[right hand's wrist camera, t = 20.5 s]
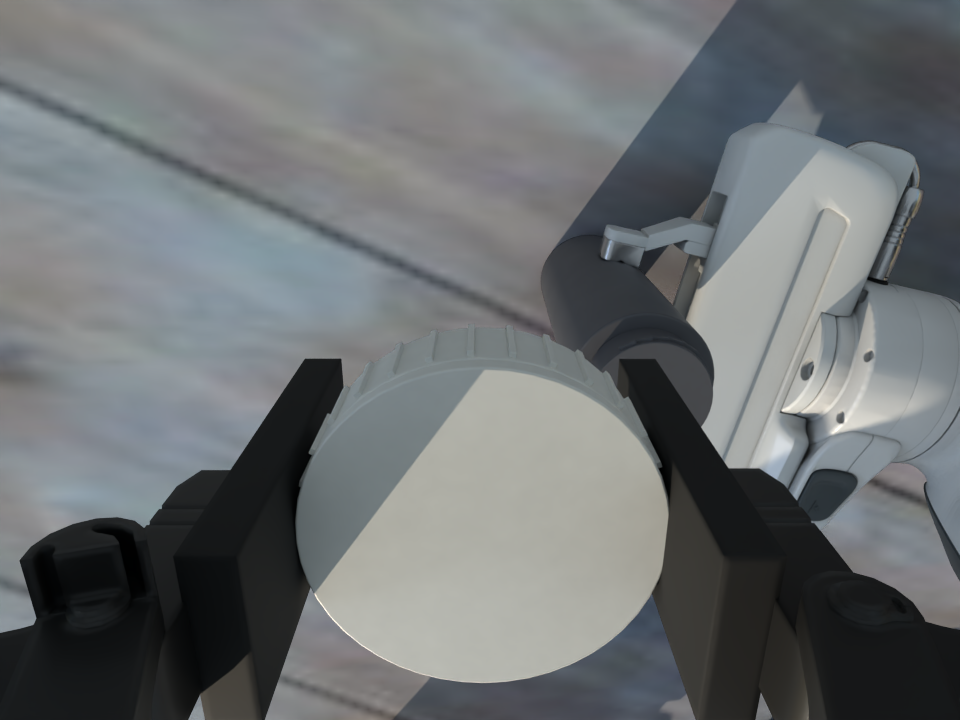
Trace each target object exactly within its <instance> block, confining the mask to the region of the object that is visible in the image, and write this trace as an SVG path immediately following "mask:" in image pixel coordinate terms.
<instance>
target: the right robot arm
mask: <svg viewBox="0 0 960 720" xmlns="http://www.w3.org/2000/svg"><path fill="white" fill-rule="evenodd" d="M342 389H343V375H342V363H341V359H305V360H304V361H303V363H302V364H301V366H300V367H299V369H298V370H297V372H296V373H295V375H294V376H293V378H292V379H291V381H290V382H289V384H288V385H287V387H286V388H285V390H284V391H283V393H282V394H281V396H280V397H279V399H278V400H277V402H276V403H275V405H274V406H273V407H272V409H271V410H270V412H269V413H268V415H267V416H266V418H265V419H264V421H263V422H262V424H261V425H260V427H259V428H258V430H257V431H256V433H255V434H254V436H253V437H252V439H251V440H250V442H249V443H248V445H247V446H246V448H245V449H244V451H243V452H242V454H241V455H240V457H239V458H238V460H237V461H236V463H235V464H234V466H233V467H232V469H231V470H201V471H200V472H198V473H197V474H195V475H194V476H192V477H191V478H189V479H188V480H186V481H185V482H183V483H181V484H180V485H178V486H177V487H176V488H175V489H174V491H173V492H172V493H171V495H170V496H169V497H168V498H167V500H166V501H165V502H164V504H163V505H162V509H159V510H158V511H157V513H156V514H155V515H154V516H153V518H152V519H151V520H150V525H146V527H145V528H143V527H142V526H141V525H139V524H138V523H137V522H135V521H133V520H128V519H123V518H118V517H116V518H98V519H93V520H88V521H84V522H80V523H76V524H72V525H70V526H68V527H65V528H63V529H61V530H58V531H56V532H53V533H51V534H49V535H48V536H46V537H45V538H43V539H42V540H40V541H39V542H37V543H36V544H34V545H33V546H31V547H30V549H29V550H28V551H27V552H26V553H25V555H24V556H23V557H22V558H21V559H20V564H21V567H22V571H23V574H24V577H25V581H26V584H27V587H28V591H29V594H30V598H31V601H32V604H33V608H34V611H35V614H36V618H37V619H36V621H35V623H34V625H32V626H28V627H25V628H21V629H17V630H12V631H7V632H3V633H0V720H188V719H189V717H190V715H191V712H192V710H193V708H194V706H195V704H196V702H197V700H198V697H199V695H200V696H201V701H202V706H203V711H204V716H205V720H265V717H266V714H267V711H268V709H269V706H270V703H271V700H272V697H273V694H274V691H275V688H276V685H277V682H278V680H279V677H280V674H281V671H282V668H283V665H284V662H285V659H286V656H287V654H288V651H289V648H290V645H291V642H292V639H293V636H294V633H295V630H296V628H297V625H298V622H299V619H300V616H301V613H302V610H303V607H304V604H305V602H306V599H307V596H308V593H309V590H310V585H309V583H308V581H307V578H306V576H305V573H304V570H303V568H302V565H301V562H300V557H299V553H298V548H297V543H296V529H295V517H296V507H297V499H298V495H299V491H300V488H301V487H299V482H300V479H301V477H302V475H303V473H304V471H305V469H306V466H307V464H308V462H309V460H310V458H311V456H312V455H311V454H309V451H310V449H311V447H312V445H313V443H314V440H315V438H316V436H317V434H318V432H319V430H320V428H321V426H322V424H323V422H324V420H325V418H326V416H327V414H331V413H332V410H333V408H334V406H335V404H336V402H337V400H338V398H339V396H340V393H341V391H342ZM617 389H618V391H619V392H620V394H621V395H622V397H623V398H624V399H625V398H626V397H629V399H630V400H631V402H632V404H633V406H634V408H635V410H636V412H637V414H638V416H639V418H640V420H641V422H642V424H643V426H644V428H645V430H646V432H647V435H648V437H649V439H650V441H651V443H652V445H653V447H654V449H655V451H656V453H657V455H658V457H659V459H660V461H661V464H662V467H661V468H658V469H659V471H660V473H661V475H662V478H663V481H664V485H665V488H666V491H667V495H668V500H669V515H668V524H667V533H666V541H665V550H664V558H663V566H662V572H661V575H660V578H659V580H658V582H657V584H656V586H655V588H654V590H653V592H652V595H653V597H654V600H655V603H656V606H657V609H658V612H659V615H660V618H661V621H662V623H663V626H664V629H665V632H666V635H667V638H668V641H669V644H670V647H671V649H672V652H673V655H674V658H675V661H676V664H677V667H678V670H679V673H680V676H681V678H682V681H683V684H684V687H685V690H686V693H687V696H688V699H689V702H690V704H691V707H692V710H693V713H694V716H695V719H696V720H755V718H756V713H757V708H758V703H759V698H760V693H762V695H763V697H764V700H765V702H766V704H767V706H768V708H769V710H770V712H771V714H772V716H773V719H774V720H960V630H957V629H952V628H948V627H943V626H939V625H935V624H932V623H928V622H925V620H924V617H923V616H922V615H921V613H920V612H919V610H918V609H917V608H916V606H915V605H914V603H913V602H912V601H910V600H909V599H908V598H906V597H905V596H904V595H903V594H901V593H900V592H899V591H897V590H896V589H895V588H893V587H891V586H889V585H886V584H884V583H882V582H880V581H878V580H876V579H874V578H871V577H867V576H864V575H860V574H856V573H853V572H852V570H851V569H850V568H849V567H848V565H847V564H846V563H845V561H844V560H843V559H842V558H841V556H840V555H839V554H838V552H837V551H836V550H835V549H834V547H833V546H832V545H831V544H830V542H829V541H828V540H827V538H826V537H825V536H824V535H823V533H822V532H821V531H820V530H819V528H818V527H817V526H816V524H815V523H811V518H810V517H809V516H808V514H807V513H806V512H805V510H804V509H803V508H802V507H799V503H798V502H797V500H796V499H795V498H794V496H793V495H792V494H791V493H790V491H789V490H788V489H787V487H786V486H785V485H784V484H783V483H781V482H780V481H778V480H777V479H775V478H773V477H772V476H770V475H769V474H767V473H766V472H764V471H763V470H761V469H760V468H728V467H727V465H726V464H725V462H724V461H723V459H722V458H721V456H720V455H719V453H718V452H717V450H716V449H715V447H714V446H713V444H712V443H711V441H710V440H709V438H708V437H707V435H706V434H705V432H704V431H703V429H702V428H701V426H700V425H699V423H698V422H697V420H696V419H695V417H694V416H693V414H692V413H691V411H690V410H689V408H688V407H687V405H686V404H685V402H684V401H683V399H682V398H681V396H680V395H679V393H678V392H677V390H676V389H675V387H674V386H673V384H672V383H671V381H670V380H669V378H668V377H667V375H666V374H665V372H664V371H663V369H662V368H661V366H660V365H659V363H658V362H657V360H656V359H619V368H618V381H617Z"/></svg>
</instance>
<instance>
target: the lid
mask: <svg viewBox="0 0 960 720" xmlns="http://www.w3.org/2000/svg"><path fill="white" fill-rule="evenodd" d="M309 454H311V455H312V456H311V458H310V460H309V462H308V464H307V466H306V469H305V471H304V473H303V475H302V477H301V479H300V482H299V487H301V488H300V491H299V495H298V499H297V507H296V517H295V529H296V543H297V548H298V553H299V557H300V562H301V565H302V568H303V570H304V573H305V576H306V578H307V581H308V583H309V585H310V587H311V589H312V590H313V592H314V594H315V596H316V598H317V600H318V601H319V602H320V604H321V605H322V606H323V608H324V609H325V611H326V612H327V613H328V615H329V616H330V617H331V618H332V619H333V620H334V621H335V622H336V623H337V624H338V626H339V627H340V628H341V629H342V630H343V631H344V632H345V633H347V634H348V635H349V636H350V637H352V638H353V639H354V640H355V641H356V642H358V643H359V644H360V645H362V646H363V647H365V648H366V649H368V650H369V651H371V652H373V653H374V654H376V655H377V656H379V657H381V658H383V659H385V660H387V661H389V662H391V663H393V664H395V665H397V666H400V667H402V668H405V669H408V670H411V671H413V672H416V673H419V674H423V675H427V676H431V677H435V678H439V679H445V680H452V681H459V682H475V683H491V682H507V681H514V680H520V679H526V678H531V677H535V676H538V675H542V674H546V673H550V672H552V671H555V670H558V669H560V668H563V667H566V666H568V665H571V664H573V663H575V662H577V661H578V660H580V659H582V658H584V657H586V656H588V655H590V654H592V653H593V652H595V651H596V650H598V649H599V648H601V647H602V646H604V645H605V644H607V643H608V642H609V641H610V640H612V639H613V638H614V637H615V636H616V635H618V634H619V633H620V632H621V631H622V630H624V628H625V627H626V626H627V625H628V624H629V623H630V622H631V621H632V620H633V619H634V618H635V617H636V615H637V614H638V613H639V612H640V610H641V609H642V607H643V606H644V605H645V603H646V602H647V600H648V599H649V598H650V596H651V594H652V592H653V590H654V588H655V586H656V584H657V582H658V580H659V578H660V575H661V572H662V566H663V558H664V550H665V541H666V533H667V524H668V515H669V500H668V495H667V491H666V488H665V485H664V481H663V478H662V475H661V473H660V471H659V469H658V468H661V467H662V464H661V461H660V459H659V457H658V455H657V453H656V451H655V449H654V447H653V445H652V443H651V441H650V439H649V437H648V435H647V432H646V430H645V428H644V426H643V424H642V422H641V420H640V418H639V416H638V414H637V412H636V410H635V408H634V406H633V404H632V402H631V400H630V399H629V397H626V398H625V399H624V398H623V397H622V395H621V394H620V392H619V391H618V389H617V388H616V386H615V384H614V382H613V380H612V378H611V376H610V374H609V373H608V372H607V371H605V372H604V373H602V372H601V371H599V370H598V369H597V368H596V367H595V366H593V365H592V364H591V363H590V362H589V361H588V360H586V359H585V358H584V355H583V353H582V352H581V351H580V350H578V349H577V350H576V352H573V351H572V350H570V349H568V348H566V347H564V346H562V345H560V344H558V343H555V342H553V341H551V339H550V336H549V335H546V334H543V336H542V337H540V336H536V335H533V334H530V333H527V332H521V331H516V330H513V326H509V325H507V326H506V329H505V328H486V327H477V328H475V324H468V328H463V329H455V330H450V331H445V332H440V333H438V331H437V329H436V330H432V331H431V333H430V335H429V336H426V337H423V338H420V339H417V340H414V341H412V342H410V343H408V344H406V345H403V343H402V342H400V343H398V344H396V347H395V350H393V351H392V352H390V353H389V354H387V355H386V356H384V357H383V358H381V359H380V360H378V361H377V362H375V363H374V364H373V363H372V362H371V361H370V362H369V363H368V364H366V366H365V369H364V371H363V373H362V375H360V376H359V377H358V379H357V380H356V381H355V382H354V383H353V384H352V386H351V387H350V388H349V387H348V386H345V387H344V388H343V389H342V391H341V393H340V396H339V398H338V400H337V402H336V404H335V406H334V408H333V410H332V413H331V414H327V416H326V418H325V420H324V422H323V424H322V426H321V428H320V430H319V432H318V434H317V436H316V438H315V440H314V443H313V445H312V447H311V449H310V451H309Z"/></svg>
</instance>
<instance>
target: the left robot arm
mask: <svg viewBox="0 0 960 720" xmlns="http://www.w3.org/2000/svg"><path fill="white" fill-rule="evenodd" d="M909 178H910V182H909V186H906V185H907V182H908V180H909ZM919 184H920V169H919V165H918V163H917V161H916V159H915V157H914V156H913V155H912V154H911V153H909V152H908V151H907V150H905V149H903V148H901V147H896V146H892V145H888V144H884V143H880V142H876V141H860V142H857V143H854V144H851V145H849V146H847V147H843V146H841V145H839V144H836V143H834V142H831V141H829V140H826V139H824V138H821V137H818V136H815V135H812V134H809V133H806V132H803V131H800V130H797V129H793V128H790V127H786V126H782V125H777V124H771V123H753V124H751V125H748V126H746V127H744V128H742V129H740V130H738V131H737V132H735V133H733V134H732V135H731V136H730V137H729V139H728V141H727V144H726V147H725V150H724V153H723V156H722V159H721V162H720V165H719V168H718V171H717V174H716V177H715V180H714V183H713V186H712V189H711V192H710V195H709V198H708V201H707V204H706V207H705V210H704V213H703V216H702V219H701V221H697V220H692V219H688V218H683V217H677V218H674V219H671V220H668V221H665V222H661V223H658V224H655V225H652V226H649V227H646V228H643V229H641V231H637V230H633V229H628V228H624V227H619V226H615V225H606V228H605V232H604V235H603V239H602V242H601V246H600V250H599V255H601V258H603V259H605V260H608V261H614V262H618V261H621V260H622V261H623V262H624V264H627V265H630V266H634V267H639V265H640V262H641V259H642V256H643V253H644V251H648V250H652V249H655V248H659V247H663V246H666V245H670V244H674V245H675V246H676V247H678V248H679V249H680V250H682V251H683V252H685V253H687V254H689V257H688V260H687V263H686V266H685V269H684V272H683V275H682V278H681V281H680V284H679V287H678V290H677V293H676V296H675V299H674V302H673V306H674V307H675V308H676V310H677V311H678V312H679V313H680V314H681V315H682V316H683V317H684V318H685V319H686V320H687V321H688V323H689V324H690V325H691V326H692V327H693V328H694V329H695V330H696V331H697V332H698V333H699V335H700V336H701V337H702V338H703V340H704V341H705V343H706V344H707V346H708V348H709V350H710V352H711V356H712V359H713V364H714V384H713V400H712V406H711V409H710V412H709V414H708V417H707V419H706V420H705V422H704V424H703V425H702V427H701V428H702V429H703V431H704V432H705V434H706V435H707V437H708V438H709V440H710V441H711V443H712V444H713V446H714V447H715V449H716V450H717V452H718V453H719V455H720V456H721V458H722V459H723V461H724V462H725V464H726V465H727V467H728V468H760V469H761V470H763V471H764V472H766V473H767V474H769V475H770V476H772V477H773V478H775V479H777V480H778V481H780V482H781V483H783V484H784V485H785V486H786V487H787V489H788V490H789V491H790V493H791V494H792V495H793V496H794V498H795V499H796V500H797V502H798V503H799V507H802V508H803V509H804V510H805V512H806V513H807V514H808V516H809V517H810V518H811V523H815V524H816V526H817V527H818V528H819V530H820V531H821V530H822V529H823V528H824V527H825V526H826V525H827V524H828V523H829V522H830V520H831V519H832V518H833V517H834V516H835V515H836V514H837V513H838V512H839V511H840V510H841V508H842V507H843V506H844V505H845V504H846V503H847V502H848V501H849V500H850V499H851V498H852V497H853V496H854V495H855V494H856V493H857V492H858V491H859V490H860V489H861V488H862V487H863V486H864V485H865V484H866V483H867V482H869V481H870V480H871V479H872V478H873V477H874V476H875V475H877V474H878V473H879V472H880V471H881V470H883V469H884V468H885V467H886V466H888V465H889V464H890V463H905V464H910V465H913V466H914V467H916V468H918V469H919V470H920V471H921V472H922V473H923V474H924V475H925V477H926V479H927V482H925V484H924V492H925V497H926V501H927V504H928V507H929V510H930V513H931V516H932V518H933V521H934V524H935V526H936V528H937V531H938V533H939V535H940V538H941V541H942V544H943V546H944V549H945V551H946V554H947V557H948V559H949V562H950V564H951V566H952V568H953V570H954V572H955V574H956V575H957V577H958V579H959V580H960V303H958V302H956V301H955V300H953V299H950V298H947V297H945V296H942V295H938V294H934V293H930V292H925V291H921V290H917V289H912V288H908V287H904V286H899V285H895V284H891V283H888V282H887V281H888V279H889V276H890V274H891V272H892V270H893V267H894V265H895V263H896V261H897V258H898V256H899V254H900V251H901V248H902V246H901V245H902V244H903V242H904V240H903V239H904V238H905V235H906V234H905V233H906V232H907V230H908V227H909V225H910V223H911V221H912V219H913V218H915V217H916V215H917V213H918V211H919V209H920V206H921V204H922V200H923V196H924V190H922V189H918V188H919Z"/></svg>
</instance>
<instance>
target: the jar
mask: <svg viewBox="0 0 960 720" xmlns="http://www.w3.org/2000/svg"><path fill="white" fill-rule="evenodd" d="M602 239H603V237H599V236H594V235H584V236H578V237H574V238H571V239H569V240H567V241H565V242H563V243H562V244H560V245H559V246H558V247H557V248H556V249H555V250H553V252H552V253H551V254H550V255H549V257H548V259H547V260H546V262H545V264H544V267H543V270H542V275H541V289H542V293H543V297H544V301H545V304H546V308H547V312H548V315H549V319H550V322H551V326H552V330H553V333H554V337H555V341H556V343H558V344H560V345H562V346H564V347H566V348H568V349H570V350H572V351H573V352H576V350H577V349H578V350H580V351H581V352H582V353H583V355H584V358H585V359H586V360H588V361H589V362H590V363H591V364H592V365H593V366H595V367H596V368H597V369H598V370H599V371H601V372H602V373H604V372H605V371H607V372H608V373H609V374H610V376H611V378H612V380H613V382H614V384H615V386H616V388H617V381H618V368H619V359H656V360H657V362H658V363H659V365H660V366H661V368H662V369H663V371H664V372H665V374H666V375H667V377H668V378H669V380H670V381H671V383H672V384H673V386H674V387H675V389H676V390H677V392H678V393H679V395H680V396H681V398H682V399H683V401H684V402H685V404H686V405H687V407H688V408H689V410H690V411H691V413H692V414H693V416H694V417H695V419H696V420H697V422H698V423H699V425H700V426H701V427H702V425H703V424H704V422H705V420H706V419H707V417H708V414H709V412H710V409H711V406H712V400H713V384H714V364H713V359H712V356H711V352H710V350H709V348H708V346H707V344H706V343H705V341H704V340H703V338H702V337H701V336H700V335H699V333H698V332H697V331H696V330H695V329H694V328H693V327H692V326H691V325H690V324H689V323H688V321H687V320H686V319H685V318H684V317H683V316H682V315H681V314H680V313H679V312H678V311H677V310H676V308H675V307H674V306H673V305H672V304H671V303H670V302H669V301H668V300H667V299H666V298H665V296H664V295H663V294H662V293H661V292H660V291H659V290H658V289H657V288H656V287H655V286H654V285H653V283H652V282H651V281H650V280H649V279H648V278H647V277H646V276H645V275H644V274H643V273H642V271H641V270H640V269H639V268H638V267H634V266H630V265H627V264H624V262H623V261H622V260H621V261H618V262H614V261H608V260H605V259H603V258H601V255H599V250H600V246H601V242H602Z"/></svg>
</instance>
